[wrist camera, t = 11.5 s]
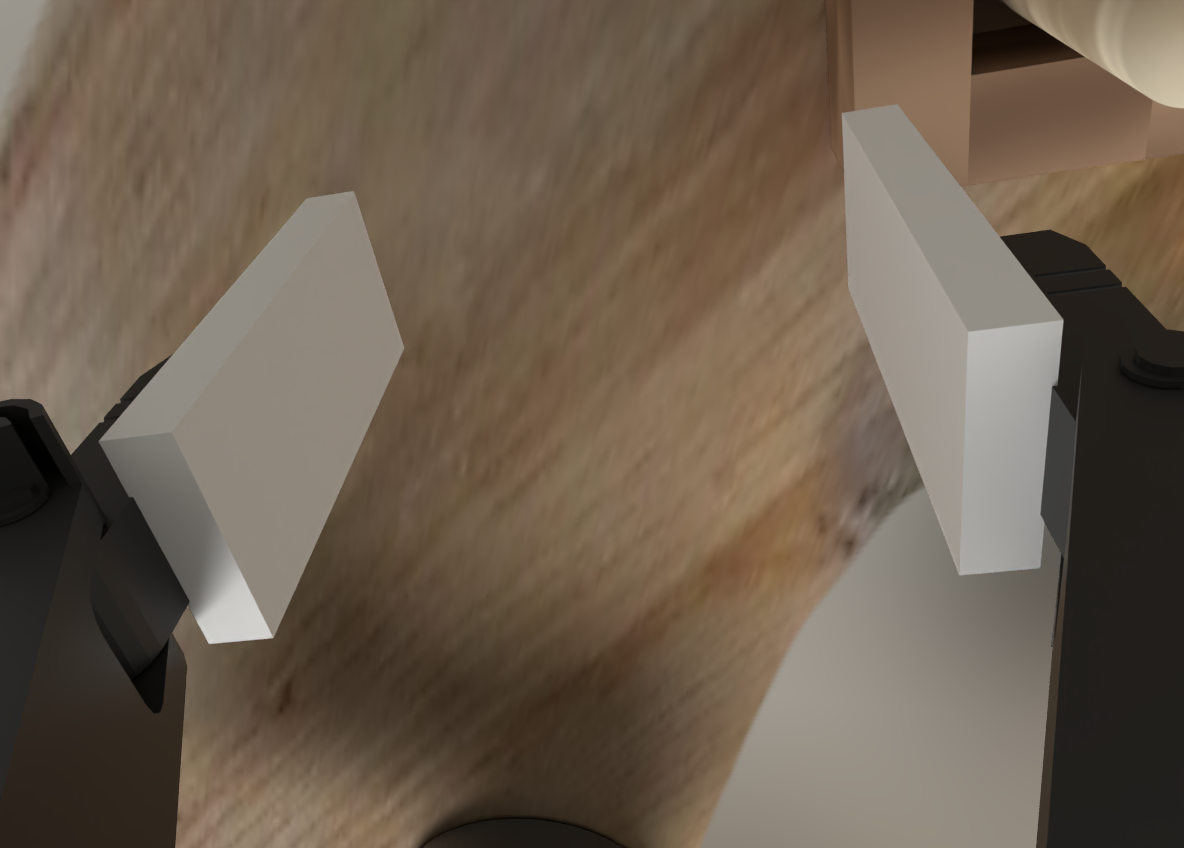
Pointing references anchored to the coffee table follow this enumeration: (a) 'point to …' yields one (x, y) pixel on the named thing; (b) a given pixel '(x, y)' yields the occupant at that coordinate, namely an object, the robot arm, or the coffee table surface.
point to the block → (988, 89)
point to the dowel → (1120, 39)
